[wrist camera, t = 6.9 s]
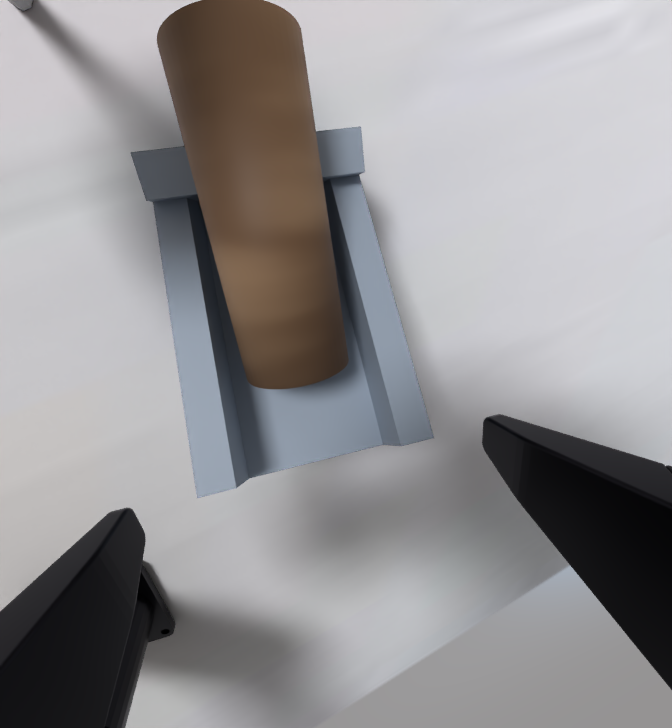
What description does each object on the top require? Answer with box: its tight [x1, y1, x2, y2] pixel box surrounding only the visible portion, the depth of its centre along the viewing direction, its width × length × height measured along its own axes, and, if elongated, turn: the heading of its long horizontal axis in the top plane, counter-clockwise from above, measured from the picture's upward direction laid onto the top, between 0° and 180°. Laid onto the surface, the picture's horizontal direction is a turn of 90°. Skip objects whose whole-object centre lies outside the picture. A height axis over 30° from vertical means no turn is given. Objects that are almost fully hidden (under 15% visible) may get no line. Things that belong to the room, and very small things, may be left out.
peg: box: [157, 0, 349, 389], centre depth 9 cm, size 3×3×8 cm
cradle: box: [131, 127, 434, 498], centre depth 12 cm, size 11×7×8 cm, turn 8°
